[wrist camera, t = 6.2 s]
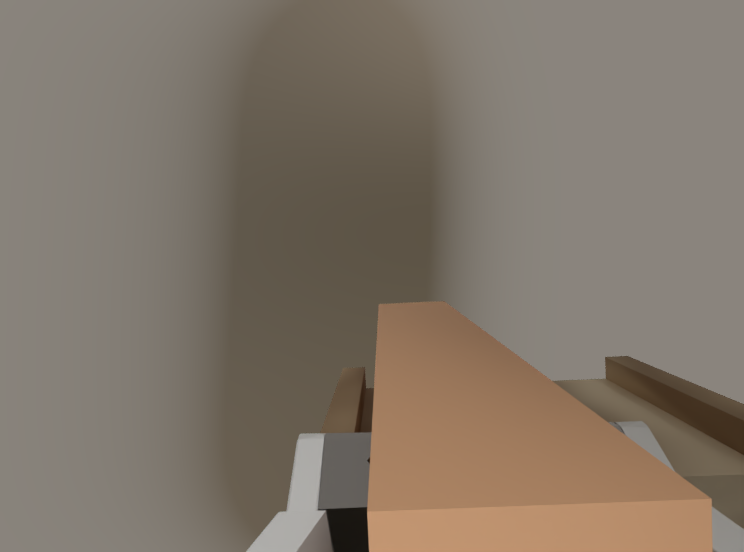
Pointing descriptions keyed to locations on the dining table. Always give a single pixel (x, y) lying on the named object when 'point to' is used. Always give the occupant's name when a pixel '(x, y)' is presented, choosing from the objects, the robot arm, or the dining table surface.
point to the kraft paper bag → (623, 404)
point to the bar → (505, 454)
